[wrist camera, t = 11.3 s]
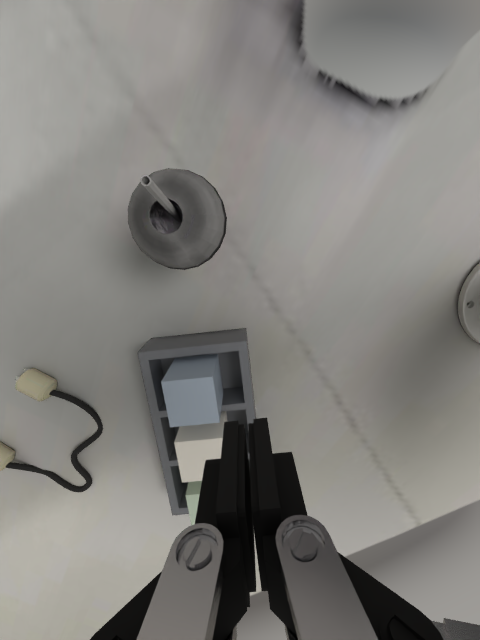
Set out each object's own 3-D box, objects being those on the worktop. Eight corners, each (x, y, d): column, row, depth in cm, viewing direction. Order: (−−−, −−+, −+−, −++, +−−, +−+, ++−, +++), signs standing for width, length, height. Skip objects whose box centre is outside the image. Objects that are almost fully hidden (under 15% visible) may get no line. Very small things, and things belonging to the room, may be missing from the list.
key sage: (232, 453, 37) (230, 491, 32) (236, 484, 39) (235, 527, 33) (194, 456, 38) (185, 495, 32) (199, 488, 39) (192, 530, 33)
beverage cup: (162, 253, 34) (57, 263, 14) (174, 187, 32) (72, 98, 13) (223, 268, 34) (200, 298, 15) (238, 204, 32) (234, 144, 13)
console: (246, 328, 36) (246, 341, 31) (262, 476, 42) (265, 507, 37) (151, 338, 36) (137, 352, 32) (180, 484, 42) (172, 515, 37)
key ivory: (225, 406, 35) (222, 438, 30) (230, 441, 37) (228, 478, 31) (185, 410, 35) (174, 442, 30) (191, 444, 37) (181, 482, 31)
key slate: (217, 353, 33) (212, 376, 27) (223, 392, 35) (219, 422, 29) (175, 358, 33) (161, 381, 28) (182, 396, 35) (170, 427, 29)
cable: (136, 416, 40) (126, 432, 37) (83, 495, 43) (70, 517, 40) (31, 357, 38) (10, 368, 34) (-16, 446, 41) (-38, 464, 38)
